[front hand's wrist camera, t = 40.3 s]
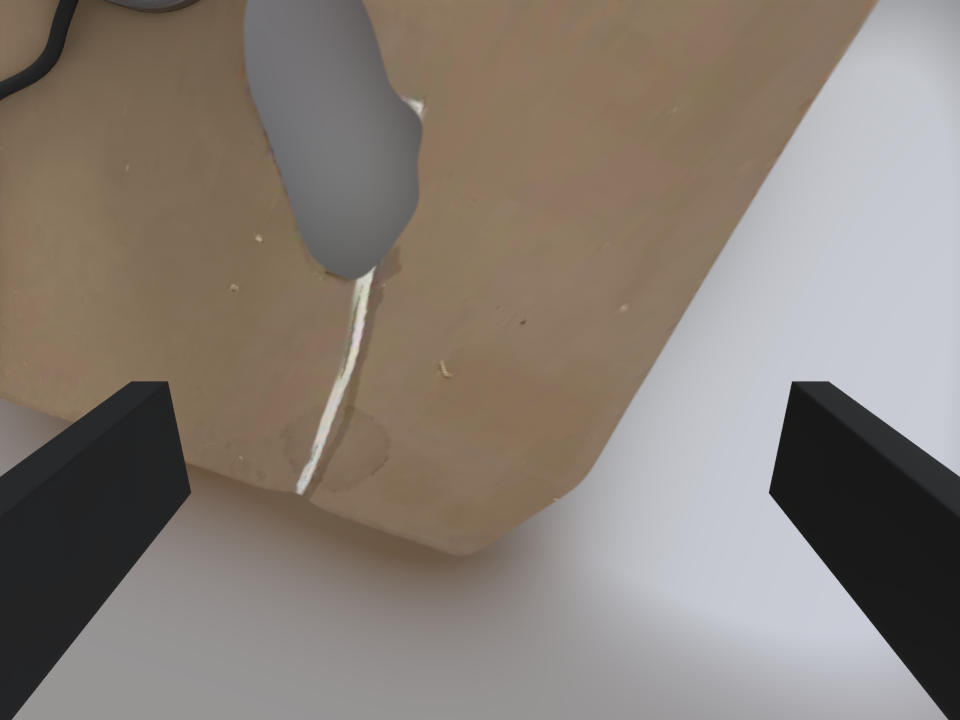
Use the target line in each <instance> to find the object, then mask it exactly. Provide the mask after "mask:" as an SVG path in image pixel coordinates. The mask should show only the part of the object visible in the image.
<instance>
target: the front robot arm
mask: <svg viewBox="0 0 960 720" xmlns="http://www.w3.org/2000/svg"><path fill="white" fill-rule="evenodd" d="M105 1H108V2H110V3H113V4H116V5H119V6H122V7H125V8H128V9H132V10H136V11H141V12H150V13H162V12H170V11H175V10H179V9H182V8H184V7H187V6H189V5H191V4H193V3H195V2H197V1H199V0H105ZM77 3H78V0H60V2H59V5H58V7H57V10H56V13H55V16H54V19H53V23H52V27H51V31H50V35H49V39H48V43H47V45H46V47H45V49H44V51H43V53H42V54H41V55H40V57H39V58H38V59H37V60H36V61H35V62H34V63H33V64H32V65H31V66H29V67H28V68H27V69H25V70H23V71H22V72H20V73H18V74H16V75H14V76H12V77H10V78H8V79H6V80H4V81H2V82H0V100H2V99H3V98H5V97H7V96H9V95H11V94H13V93H15V92H17V91H19V90H21V89H23V88H25V87H27V86H29V85H31V84H33V83H35V82H36V81H38V80H39V79H41V78H42V77H43V76H45V75H46V74H47V73H48V72H49V71H50V70H51V69H52V67H53V66H54V65H55V64H56V62H57V61H58V59H59V57H60V55H61V53H62V50H63V47H64V43H65V39H66V35H67V31H68V28H69V25H70V22H71V19H72V16H73V14H74V11H75V8H76V6H77ZM190 494H191V490H190V485H189V480H188V475H187V471H186V466H185V461H184V456H183V451H182V447H181V442H180V437H179V432H178V428H177V423H176V418H175V413H174V408H173V404H172V399H171V394H170V389H169V385H168V381H131V382H130V383H129V384H127V385H126V386H125V387H123V388H122V389H120V390H119V391H118V392H116V393H115V394H114V395H112V396H111V397H109V398H108V399H107V400H105V401H104V402H103V403H101V404H100V405H98V406H97V407H96V408H94V409H93V410H92V411H90V412H89V413H87V414H86V415H85V416H83V417H82V418H81V419H79V420H78V421H76V422H75V423H74V424H72V425H71V426H70V427H68V428H67V429H65V430H64V431H63V432H61V433H60V434H59V435H57V436H56V437H54V438H53V439H52V440H50V441H49V442H48V443H46V444H45V445H43V446H42V447H41V448H39V449H38V450H37V451H35V452H34V453H32V454H31V455H30V456H28V457H27V458H26V459H24V460H23V461H21V462H20V463H19V464H17V465H16V466H15V467H13V468H12V469H10V470H9V471H8V472H6V473H5V474H4V475H2V476H1V477H0V720H12V719H13V717H14V716H15V715H16V714H17V712H18V711H19V710H20V708H21V707H22V706H23V705H24V703H25V702H26V701H27V700H28V698H29V697H30V696H31V694H32V693H33V692H34V691H35V690H36V688H37V687H38V686H39V684H40V683H41V682H42V681H43V679H44V678H45V677H46V676H47V674H48V673H49V672H50V670H51V669H52V668H53V667H54V665H55V664H56V663H57V662H58V660H59V659H60V658H61V657H62V655H63V654H64V653H65V652H66V650H67V649H68V648H69V647H70V645H71V644H72V643H73V641H74V640H75V639H76V638H77V636H78V635H79V634H80V633H81V631H82V630H83V629H84V628H85V626H86V625H87V624H88V623H89V621H90V620H91V619H92V617H93V616H94V615H95V614H96V612H97V611H98V610H99V609H100V607H101V606H102V605H103V604H104V602H105V601H106V600H107V598H108V597H109V596H110V595H111V593H112V592H113V591H114V590H115V588H116V587H117V586H118V585H119V583H120V582H121V581H122V580H123V578H124V577H125V576H126V575H127V573H128V572H129V571H130V569H131V568H132V567H133V566H134V564H135V563H136V562H137V561H138V559H139V558H140V557H141V556H142V554H143V553H144V552H145V550H146V549H147V548H148V547H149V545H150V544H151V543H152V542H153V540H154V539H155V538H156V537H157V535H158V534H159V533H160V532H161V530H162V529H163V528H164V527H165V525H166V524H167V523H168V521H169V520H170V519H171V518H172V516H173V515H174V514H175V513H176V511H177V510H178V509H179V508H180V506H181V505H182V504H183V502H184V501H185V500H186V499H187V497H188V496H189V495H190ZM769 494H770V495H771V496H772V497H773V499H774V500H775V501H776V503H777V504H778V505H779V506H780V508H781V509H782V510H783V511H784V513H785V514H786V515H787V516H788V518H789V519H790V520H791V521H792V523H793V524H794V525H795V526H796V528H797V529H798V530H799V532H800V533H801V534H802V535H803V537H804V538H805V539H806V540H807V542H808V543H809V544H810V545H811V547H812V548H813V549H814V551H815V552H816V553H817V554H818V556H819V557H820V558H821V559H822V561H823V562H824V563H825V564H826V566H827V567H828V568H829V569H830V571H831V572H832V573H833V575H834V576H835V577H836V578H837V580H838V581H839V582H840V583H841V585H842V586H843V587H844V588H845V590H846V591H847V592H848V593H849V595H850V596H851V597H852V598H853V600H854V601H855V602H856V604H857V605H858V606H859V607H860V609H861V610H862V611H863V612H864V614H865V615H866V616H867V617H868V619H869V620H870V621H871V623H872V624H873V625H874V626H875V627H876V629H877V630H878V631H879V633H880V634H881V635H882V636H883V638H884V639H885V640H886V641H887V643H888V644H889V645H890V647H891V648H892V649H893V650H894V652H895V653H896V654H897V655H898V657H899V658H900V659H901V660H902V662H903V663H904V664H905V666H906V667H907V668H908V669H909V670H910V672H911V673H912V674H913V676H914V677H915V678H916V679H917V681H918V682H919V683H920V684H921V686H922V687H923V688H924V689H925V691H926V692H927V693H928V695H929V696H930V697H931V698H932V700H933V701H934V702H935V703H936V705H937V706H938V707H939V708H940V710H941V711H942V712H943V713H944V715H945V716H946V717H947V719H948V720H960V477H959V476H958V475H956V474H955V473H954V472H952V471H951V470H950V469H948V468H947V467H945V466H944V465H943V464H941V463H940V462H939V461H937V460H936V459H934V458H933V457H932V456H930V455H929V454H928V453H926V452H925V451H923V450H922V449H921V448H919V447H918V446H917V445H915V444H914V443H912V442H911V441H910V440H908V439H907V438H906V437H904V436H903V435H901V434H900V433H899V432H897V431H896V430H895V429H893V428H892V427H890V426H889V425H888V424H886V423H885V422H884V421H882V420H881V419H879V418H878V417H877V416H875V415H874V414H873V413H871V412H870V411H868V410H867V409H866V408H864V407H863V406H862V405H860V404H859V403H857V402H856V401H855V400H853V399H852V398H851V397H849V396H848V395H846V394H845V393H844V392H842V391H841V390H840V389H838V388H837V387H835V386H834V385H833V384H831V383H830V382H828V381H821V382H820V381H819V382H818V381H817V382H816V381H808V382H807V381H805V382H804V381H801V382H800V381H793V382H792V385H791V389H790V394H789V399H788V404H787V408H786V413H785V418H784V423H783V428H782V432H781V437H780V442H779V447H778V451H777V456H776V461H775V466H774V471H773V476H772V480H771V485H770V490H769Z"/></svg>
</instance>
